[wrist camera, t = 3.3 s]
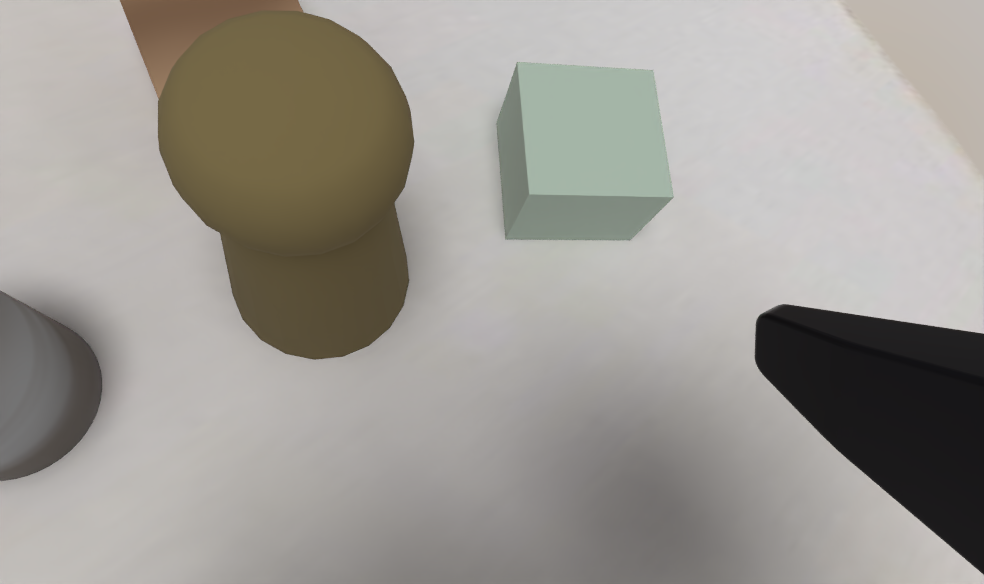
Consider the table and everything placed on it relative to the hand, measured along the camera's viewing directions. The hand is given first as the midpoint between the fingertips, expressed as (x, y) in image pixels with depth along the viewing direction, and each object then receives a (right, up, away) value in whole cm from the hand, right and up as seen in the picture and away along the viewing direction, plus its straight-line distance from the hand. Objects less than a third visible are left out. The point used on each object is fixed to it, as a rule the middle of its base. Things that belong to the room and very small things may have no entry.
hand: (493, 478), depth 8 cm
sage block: (+3, +7, +17) cm, 19 cm away
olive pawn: (-6, +3, +14) cm, 16 cm away
